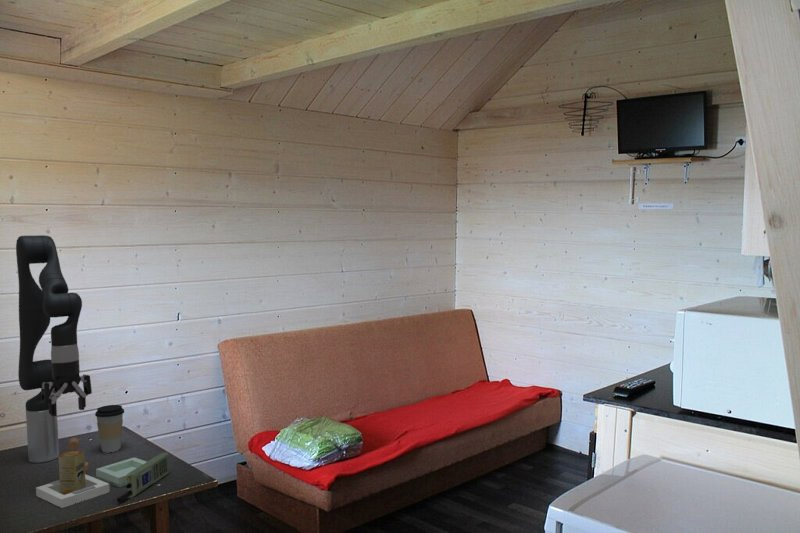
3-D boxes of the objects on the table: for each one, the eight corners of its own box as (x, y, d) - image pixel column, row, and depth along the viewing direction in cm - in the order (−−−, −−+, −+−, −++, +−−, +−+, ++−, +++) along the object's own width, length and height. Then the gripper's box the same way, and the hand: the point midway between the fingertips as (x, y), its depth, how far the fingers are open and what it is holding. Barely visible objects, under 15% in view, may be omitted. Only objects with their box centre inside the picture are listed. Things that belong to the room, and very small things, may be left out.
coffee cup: (101, 446, 245) (99, 404, 244) (129, 445, 246) (127, 403, 245) (92, 455, 236) (90, 412, 235) (121, 453, 237) (119, 410, 236)
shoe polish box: (85, 491, 204) (83, 450, 203) (77, 497, 199) (75, 456, 198) (69, 490, 204) (67, 450, 203) (60, 497, 199) (58, 456, 198)
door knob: (59, 444, 217) (60, 437, 224) (60, 475, 217) (61, 467, 225) (87, 440, 220) (87, 434, 227) (88, 471, 220) (88, 463, 228)
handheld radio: (171, 473, 217) (124, 505, 193) (161, 473, 218) (113, 504, 193) (170, 452, 217) (122, 481, 192) (160, 452, 218) (112, 481, 193)
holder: (36, 496, 200) (36, 486, 200) (83, 481, 211) (83, 472, 211) (61, 508, 191) (61, 498, 191) (109, 492, 202) (109, 482, 202)
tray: (96, 478, 213) (95, 469, 213) (134, 466, 224) (134, 457, 224) (118, 487, 206) (118, 477, 205) (157, 474, 216) (157, 465, 216)
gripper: (81, 354, 216) (84, 406, 216) (35, 362, 204) (37, 416, 205) (94, 356, 211) (96, 409, 212) (47, 364, 200) (50, 420, 201)
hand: (67, 412), depth 209 cm, fingers open, 8 cm apart
